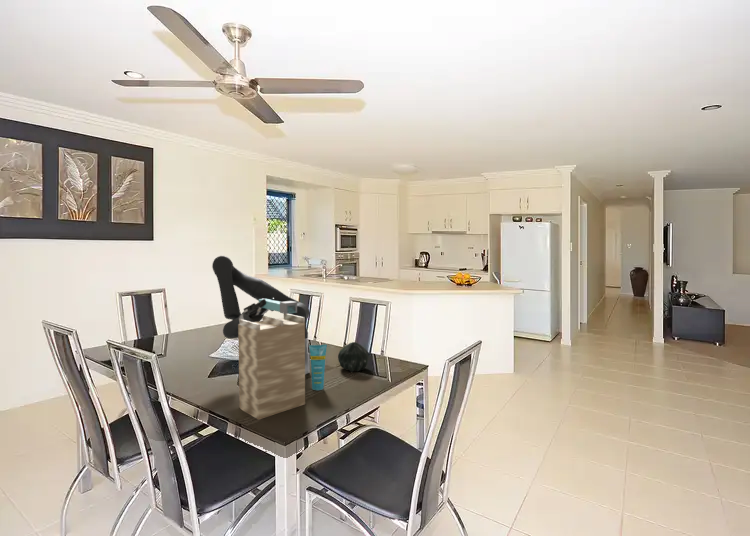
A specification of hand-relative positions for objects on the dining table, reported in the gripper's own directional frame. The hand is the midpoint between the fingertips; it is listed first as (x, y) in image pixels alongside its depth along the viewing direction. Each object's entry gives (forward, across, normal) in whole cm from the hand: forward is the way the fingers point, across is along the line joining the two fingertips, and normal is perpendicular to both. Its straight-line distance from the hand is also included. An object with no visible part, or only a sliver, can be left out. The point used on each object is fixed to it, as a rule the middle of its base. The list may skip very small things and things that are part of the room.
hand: (269, 300), depth 165 cm
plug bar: (+3, 0, +5) cm, 6 cm away
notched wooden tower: (-11, -4, +39) cm, 41 cm away
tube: (-14, +19, +37) cm, 44 cm away
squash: (-22, +48, +33) cm, 62 cm away
